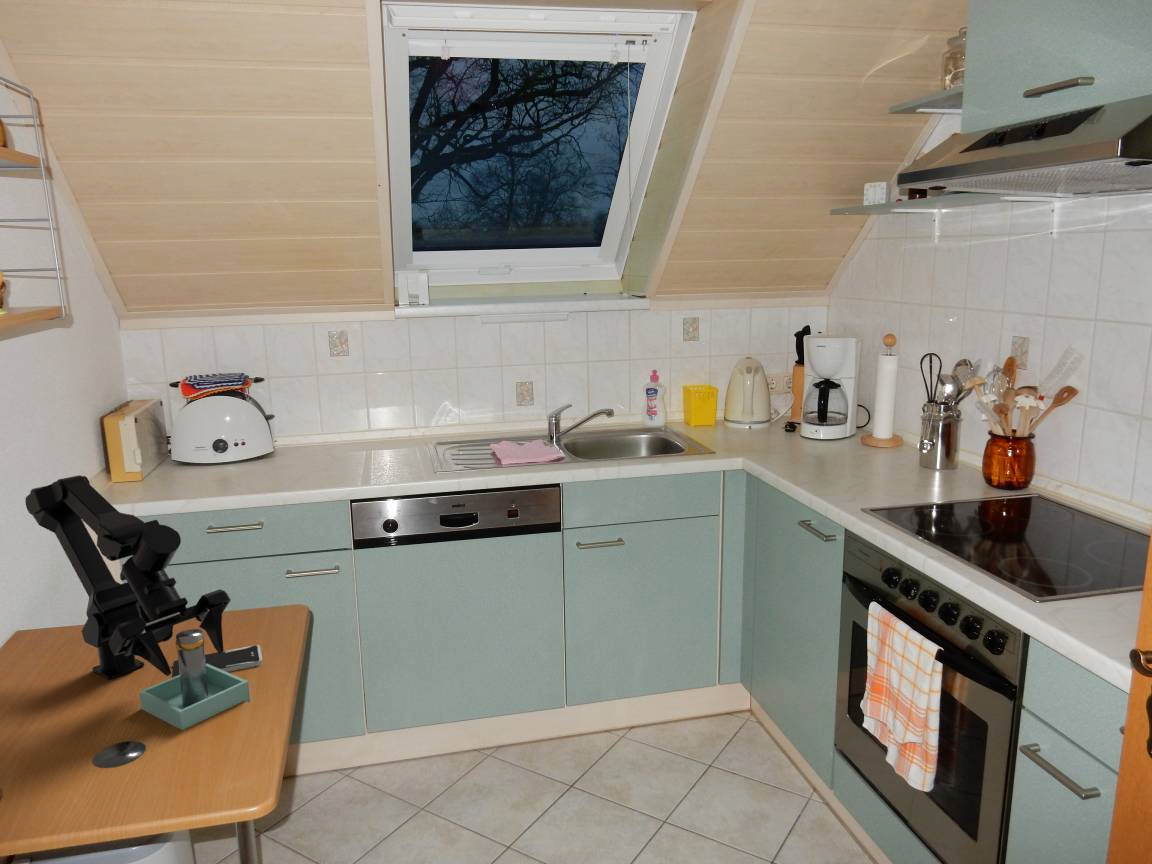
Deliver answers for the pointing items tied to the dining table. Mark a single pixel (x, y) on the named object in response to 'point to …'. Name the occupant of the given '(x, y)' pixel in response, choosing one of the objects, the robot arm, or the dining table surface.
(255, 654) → the smartphone
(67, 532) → the robot arm
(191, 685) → the strut
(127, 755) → the dark metal disc
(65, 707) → the dining table surface
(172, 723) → the bin
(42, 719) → the dining table surface
